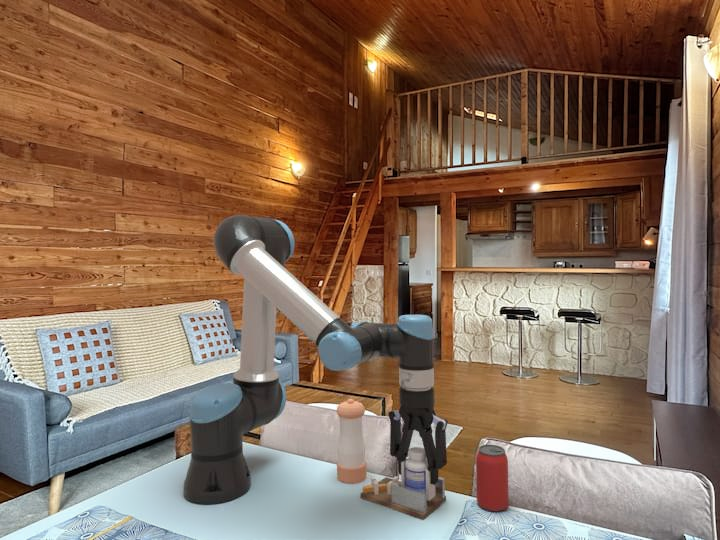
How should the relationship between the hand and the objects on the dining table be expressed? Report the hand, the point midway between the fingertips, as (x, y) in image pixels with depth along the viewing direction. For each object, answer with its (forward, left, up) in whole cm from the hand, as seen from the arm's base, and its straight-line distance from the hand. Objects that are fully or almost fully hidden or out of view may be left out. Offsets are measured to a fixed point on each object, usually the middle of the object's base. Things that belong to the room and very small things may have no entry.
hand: (418, 493), depth 103 cm
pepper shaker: (-20, +2, -2) cm, 20 cm away
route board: (-4, 0, -2) cm, 5 cm away
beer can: (+13, +9, -2) cm, 16 cm away
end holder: (0, 0, -2) cm, 2 cm away
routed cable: (-9, -1, -1) cm, 9 cm away
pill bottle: (0, 0, 0) cm, 1 cm away
